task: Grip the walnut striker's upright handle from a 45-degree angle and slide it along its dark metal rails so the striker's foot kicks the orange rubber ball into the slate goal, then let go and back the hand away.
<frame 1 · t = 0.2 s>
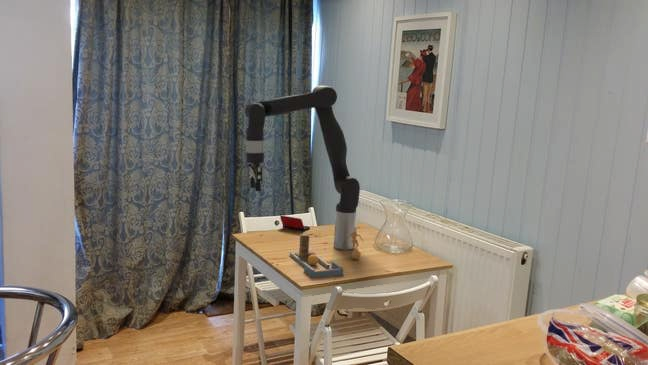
hand: (255, 189, 240), 28 cm above the table, tool pointing down, fingers open, 8 cm apart
rails: (308, 261, 238), on the table
figurine: (354, 259, 246), on the table
striker: (305, 246, 242), point 5 cm above the table, slide at 0.0 cm
red slanted panel: (294, 229, 291), on the table
goal: (322, 272, 226), on the table
ball: (313, 259, 234), point 2 cm above the table
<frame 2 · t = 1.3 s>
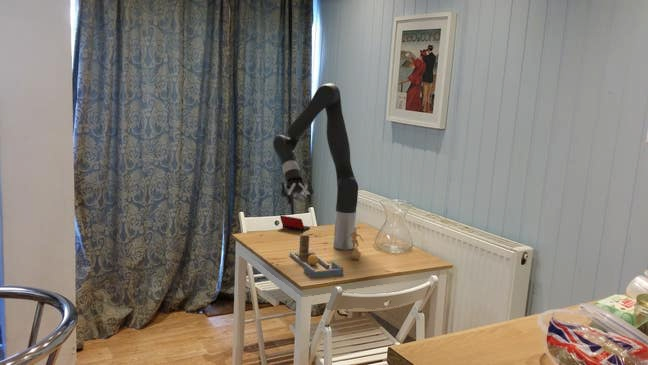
hand: (300, 203, 246), 22 cm above the table, tool tilted 45°, fingers open, 8 cm apart
nothing on the table moved.
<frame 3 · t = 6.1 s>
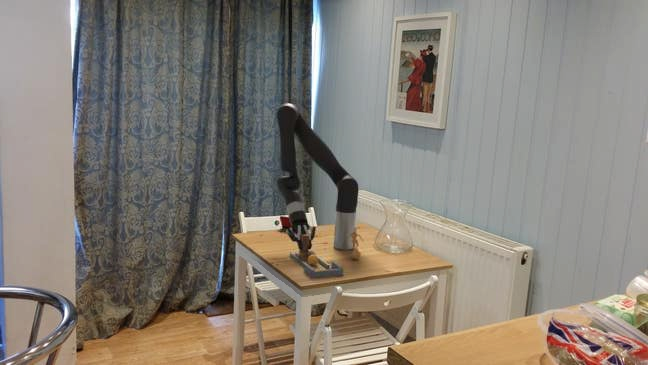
hand: (305, 248, 241), 4 cm above the table, tool tilted 45°, fingers closed on striker, 3 cm apart
striker: (305, 246, 242), point 5 cm above the table, slide at 0.0 cm, touching gripper
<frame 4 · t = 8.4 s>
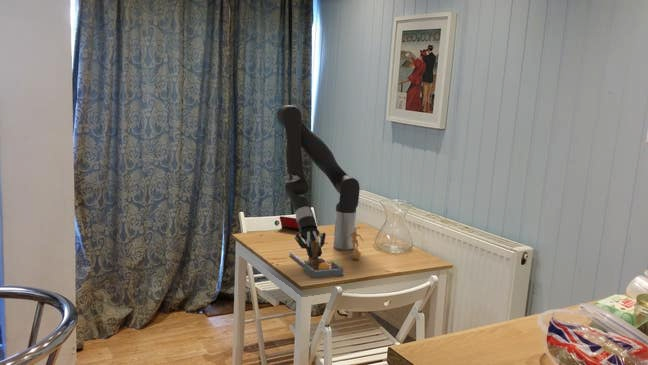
hand: (315, 256, 232), 4 cm above the table, tool tilted 45°, fingers closed on striker, 3 cm apart
striker: (314, 253, 232), point 5 cm above the table, slide at 10.3 cm, touching gripper
ball: (323, 268, 224), point 2 cm above the table, tilted 82°
everything else where it was.
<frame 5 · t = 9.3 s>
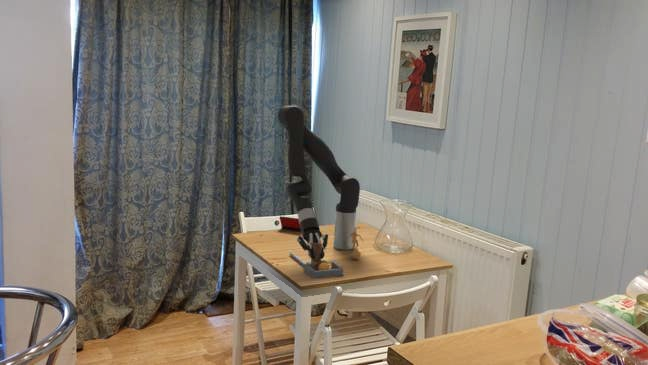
hand: (318, 257, 230), 4 cm above the table, tool tilted 45°, fingers closed on striker, 3 cm apart
striker: (317, 255, 230), point 5 cm above the table, slide at 13.0 cm, touching gripper
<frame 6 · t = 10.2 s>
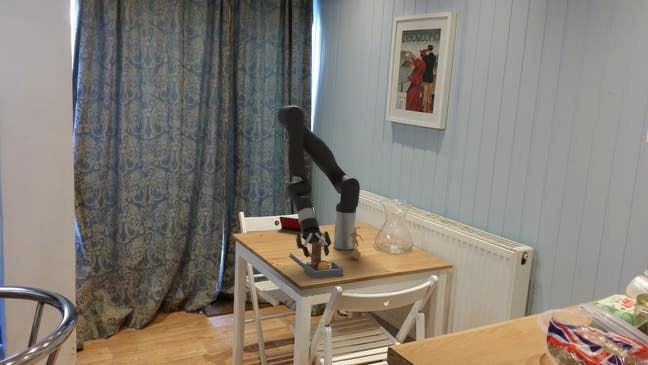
hand: (317, 255, 230), 5 cm above the table, tool tilted 45°, fingers open, 8 cm apart
striker: (317, 255, 230), point 5 cm above the table, slide at 13.0 cm
ball: (323, 267, 225), point 2 cm above the table, tilted 102°
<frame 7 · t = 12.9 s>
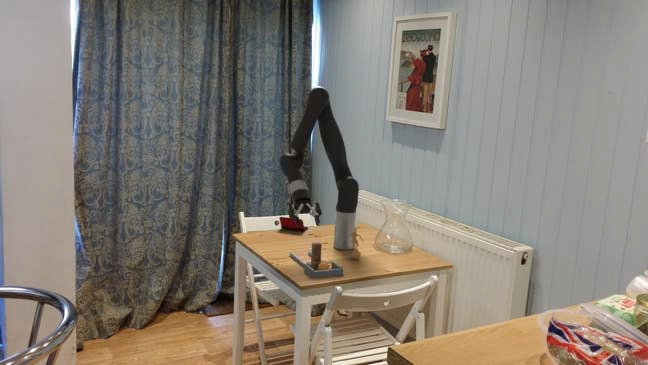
hand: (308, 225, 238), 15 cm above the table, tool tilted 45°, fingers open, 8 cm apart
ball: (323, 267, 225), point 2 cm above the table, tilted 96°
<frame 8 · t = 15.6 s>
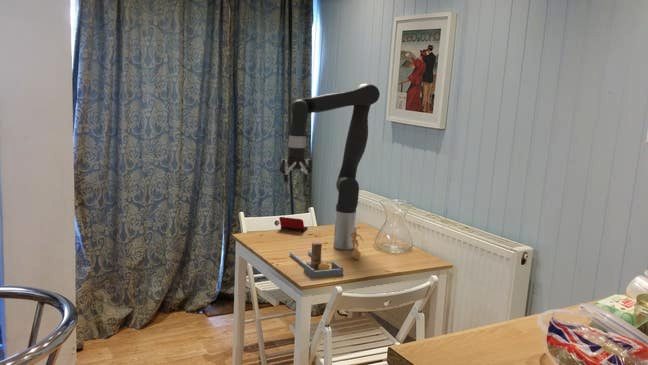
hand: (295, 182, 251), 30 cm above the table, tool pointing down, fingers open, 8 cm apart
ball: (323, 267, 225), point 2 cm above the table, tilted 90°
at the end: ball inside the target area on the goal (0.6 cm from its centre), point 2.2 cm above the goal's base; striker slide at 13.0 cm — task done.
